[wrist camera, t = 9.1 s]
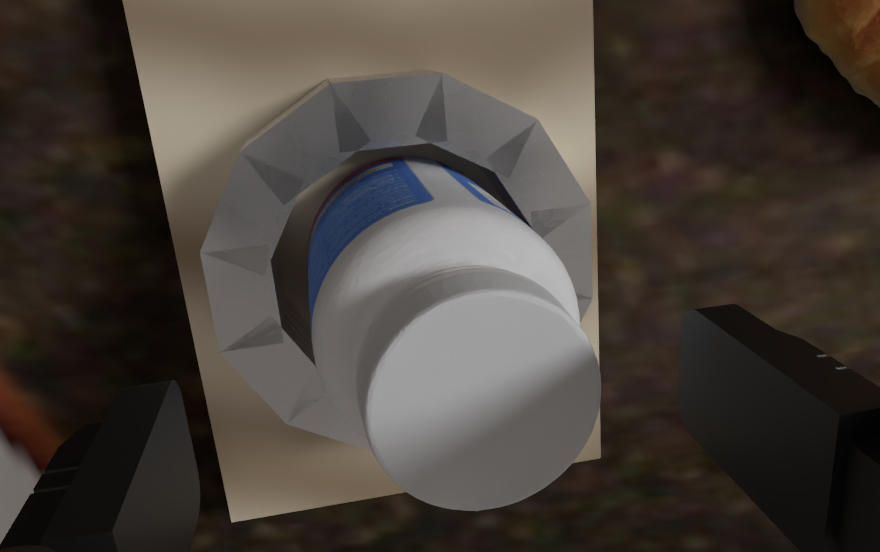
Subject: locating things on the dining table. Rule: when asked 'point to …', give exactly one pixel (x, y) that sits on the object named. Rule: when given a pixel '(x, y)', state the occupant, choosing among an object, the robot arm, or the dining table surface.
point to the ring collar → (318, 152)
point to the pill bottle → (448, 335)
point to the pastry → (847, 39)
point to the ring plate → (272, 92)
